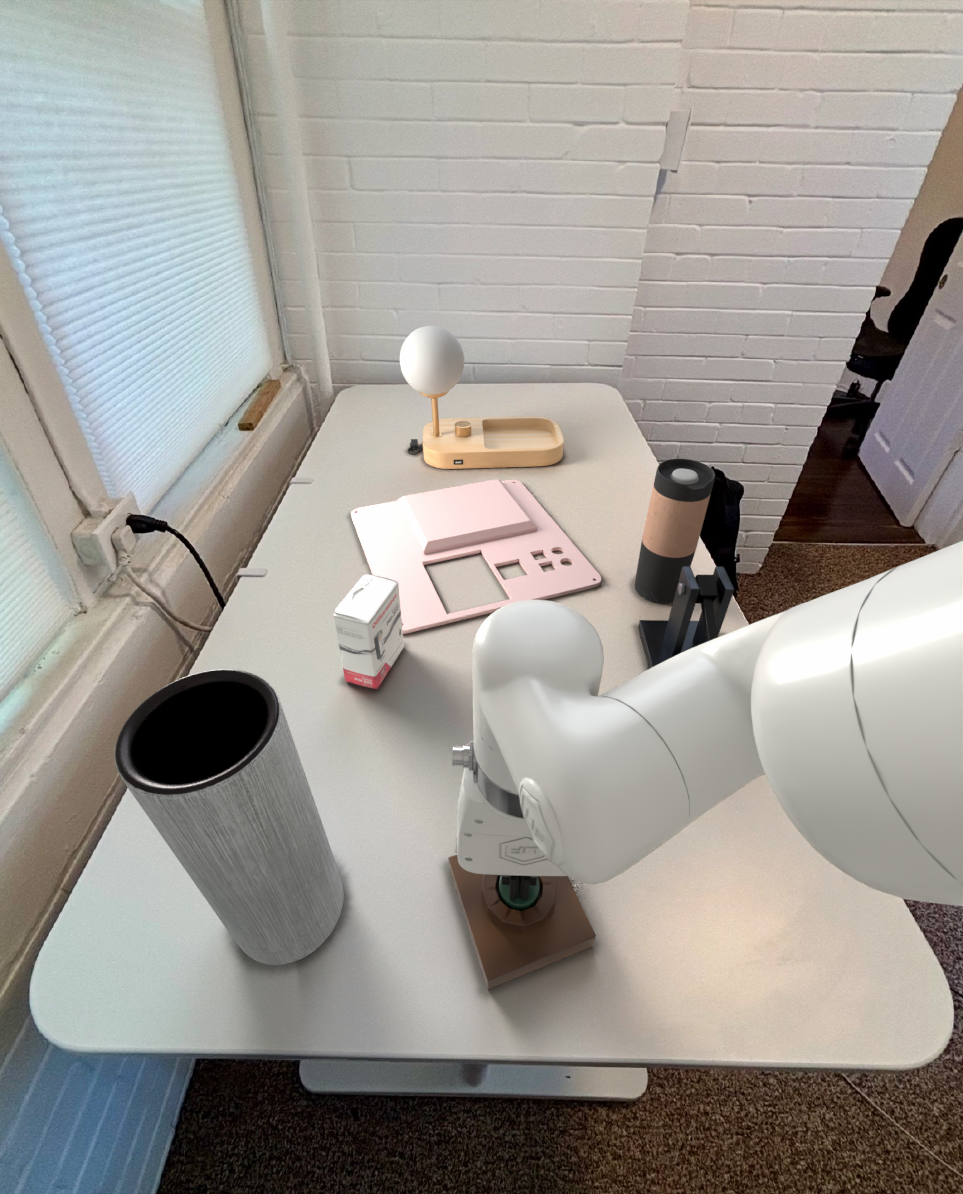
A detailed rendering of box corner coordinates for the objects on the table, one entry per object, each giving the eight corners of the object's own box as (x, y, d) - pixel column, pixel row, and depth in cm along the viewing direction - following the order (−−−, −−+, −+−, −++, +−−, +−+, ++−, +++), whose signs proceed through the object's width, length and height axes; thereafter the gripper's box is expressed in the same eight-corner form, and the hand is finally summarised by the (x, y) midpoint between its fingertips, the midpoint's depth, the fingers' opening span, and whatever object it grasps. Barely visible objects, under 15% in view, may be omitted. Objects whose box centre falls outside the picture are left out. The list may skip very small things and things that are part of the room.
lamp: (554, 431, 135) (563, 312, 118) (566, 466, 121) (578, 338, 105) (409, 434, 134) (398, 315, 117) (405, 471, 120) (392, 341, 104)
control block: (593, 946, 52) (599, 927, 50) (487, 990, 50) (487, 973, 47) (542, 835, 60) (545, 814, 58) (448, 867, 58) (447, 847, 55)
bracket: (734, 693, 74) (767, 611, 66) (654, 691, 75) (677, 610, 66) (708, 628, 84) (734, 548, 75) (637, 627, 84) (655, 548, 75)
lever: (744, 701, 67) (753, 695, 64) (691, 700, 67) (698, 694, 65) (723, 583, 73) (731, 574, 71) (675, 583, 73) (680, 574, 71)
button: (545, 905, 52) (546, 896, 51) (507, 920, 52) (507, 911, 50) (529, 867, 55) (530, 858, 54) (493, 880, 54) (493, 872, 53)
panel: (349, 512, 108) (347, 501, 107) (517, 481, 117) (518, 470, 115) (394, 636, 83) (393, 624, 81) (604, 584, 91) (606, 573, 90)
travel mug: (644, 567, 95) (669, 453, 82) (691, 585, 91) (724, 467, 78) (624, 592, 90) (646, 474, 77) (672, 611, 87) (704, 491, 74)
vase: (347, 848, 59) (289, 660, 42) (341, 958, 52) (267, 784, 34) (244, 860, 58) (142, 673, 41) (223, 974, 51) (85, 803, 33)
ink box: (379, 692, 75) (367, 622, 67) (344, 682, 76) (328, 613, 69) (407, 646, 81) (399, 578, 74) (374, 638, 82) (363, 570, 75)
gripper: (413, 809, 38) (430, 925, 50) (648, 814, 37) (608, 930, 49) (425, 715, 43) (437, 839, 55) (628, 719, 43) (597, 843, 55)
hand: (518, 882), depth 52 cm, fingers closed
